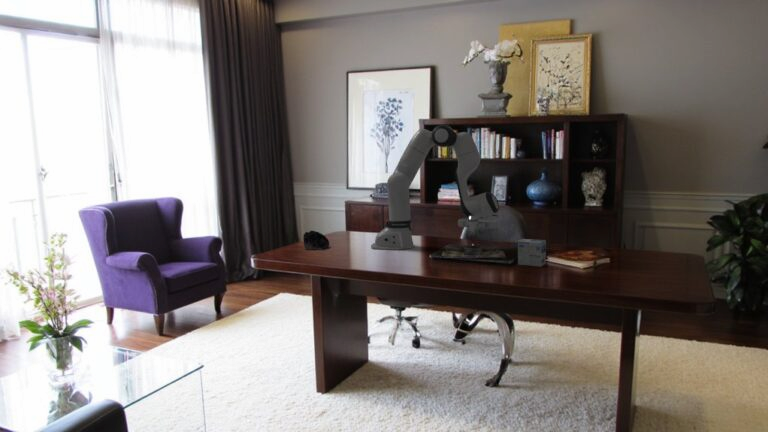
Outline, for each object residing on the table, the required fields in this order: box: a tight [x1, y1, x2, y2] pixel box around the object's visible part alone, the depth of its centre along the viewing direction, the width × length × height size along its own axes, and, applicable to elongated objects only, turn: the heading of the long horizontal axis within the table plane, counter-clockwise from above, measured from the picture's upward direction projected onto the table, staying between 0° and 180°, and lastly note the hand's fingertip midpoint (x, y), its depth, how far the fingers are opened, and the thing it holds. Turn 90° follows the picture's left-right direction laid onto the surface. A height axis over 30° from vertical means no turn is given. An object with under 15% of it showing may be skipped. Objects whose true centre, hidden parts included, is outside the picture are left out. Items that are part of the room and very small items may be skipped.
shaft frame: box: [441, 244, 506, 257], centre depth 263 cm, size 29×10×5 cm, turn 82°
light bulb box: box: [517, 238, 547, 267], centre depth 244 cm, size 11×7×11 cm, turn 58°
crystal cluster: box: [302, 230, 330, 251], centre depth 295 cm, size 13×14×10 cm
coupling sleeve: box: [468, 215, 479, 239], centre depth 262 cm, size 5×5×10 cm
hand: (472, 225), depth 261 cm, fingers closed on coupling sleeve, 4 cm apart
